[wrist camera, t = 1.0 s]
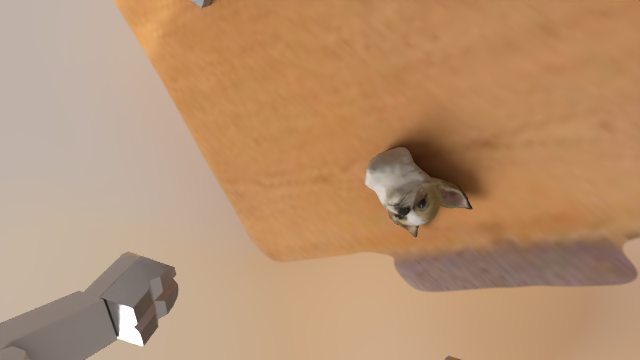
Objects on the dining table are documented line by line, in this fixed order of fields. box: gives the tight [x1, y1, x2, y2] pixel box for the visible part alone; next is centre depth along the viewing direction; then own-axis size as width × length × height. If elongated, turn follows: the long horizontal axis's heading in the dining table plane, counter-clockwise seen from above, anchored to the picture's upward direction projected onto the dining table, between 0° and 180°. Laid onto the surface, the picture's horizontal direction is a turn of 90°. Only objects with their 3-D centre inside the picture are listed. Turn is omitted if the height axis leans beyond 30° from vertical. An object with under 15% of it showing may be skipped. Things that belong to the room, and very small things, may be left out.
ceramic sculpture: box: [364, 147, 473, 237], centre depth 49 cm, size 11×9×15 cm
